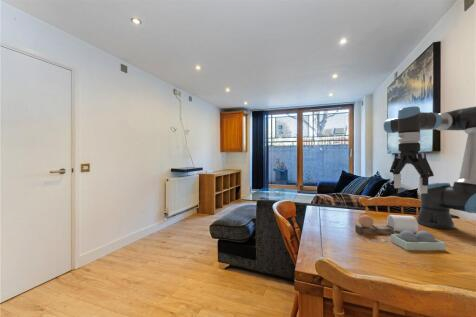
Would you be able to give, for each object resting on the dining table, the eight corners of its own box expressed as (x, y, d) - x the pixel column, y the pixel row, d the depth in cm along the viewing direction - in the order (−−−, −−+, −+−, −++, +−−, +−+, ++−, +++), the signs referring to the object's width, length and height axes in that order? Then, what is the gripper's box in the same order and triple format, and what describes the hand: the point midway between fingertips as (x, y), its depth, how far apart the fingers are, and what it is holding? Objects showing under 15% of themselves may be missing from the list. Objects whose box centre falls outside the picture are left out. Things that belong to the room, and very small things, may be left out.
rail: (387, 232, 104) (387, 224, 104) (393, 235, 100) (393, 227, 100) (355, 231, 104) (355, 224, 104) (359, 234, 100) (360, 227, 100)
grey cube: (409, 242, 90) (409, 228, 90) (421, 248, 84) (421, 233, 84) (395, 242, 90) (395, 228, 90) (406, 248, 84) (406, 233, 84)
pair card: (383, 239, 95) (383, 237, 95) (393, 244, 89) (393, 243, 89) (366, 239, 95) (366, 237, 95) (374, 244, 89) (374, 243, 89)
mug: (418, 235, 100) (418, 218, 100) (394, 233, 102) (394, 217, 102) (403, 227, 112) (404, 212, 112) (382, 225, 114) (383, 211, 114)
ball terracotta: (368, 225, 105) (368, 213, 105) (376, 229, 99) (376, 216, 99) (356, 225, 105) (356, 213, 105) (363, 229, 99) (363, 216, 99)
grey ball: (426, 242, 90) (426, 228, 90) (439, 248, 84) (439, 233, 84) (411, 242, 90) (412, 228, 90) (424, 248, 84) (424, 233, 84)
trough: (425, 242, 92) (425, 234, 91) (445, 251, 83) (445, 242, 83) (390, 242, 92) (390, 234, 92) (406, 251, 83) (406, 242, 83)
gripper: (380, 144, 105) (381, 186, 106) (426, 141, 80) (427, 196, 81) (395, 143, 105) (396, 185, 106) (445, 140, 81) (446, 195, 81)
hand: (409, 190), depth 93 cm, fingers open, 13 cm apart
